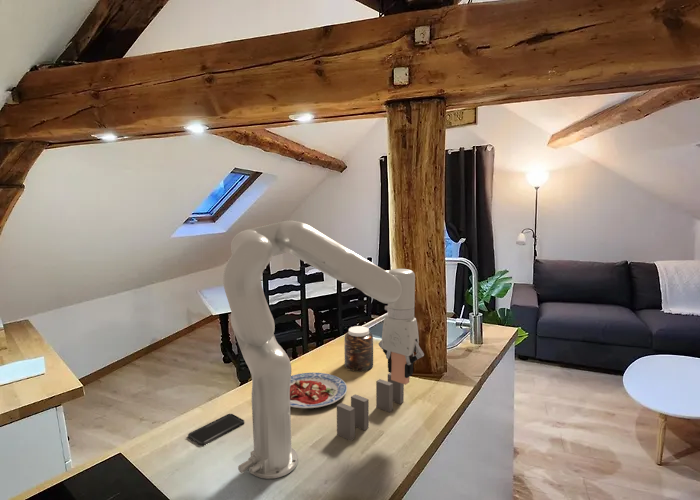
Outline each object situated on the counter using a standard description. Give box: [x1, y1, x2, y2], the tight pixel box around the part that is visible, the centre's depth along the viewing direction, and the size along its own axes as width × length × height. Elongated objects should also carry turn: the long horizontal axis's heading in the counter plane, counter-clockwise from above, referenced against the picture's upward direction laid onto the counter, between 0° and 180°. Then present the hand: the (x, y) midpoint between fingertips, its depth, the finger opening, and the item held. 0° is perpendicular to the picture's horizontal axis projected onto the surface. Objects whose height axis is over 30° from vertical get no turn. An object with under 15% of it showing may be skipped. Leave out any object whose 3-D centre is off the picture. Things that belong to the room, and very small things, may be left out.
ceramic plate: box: [290, 372, 348, 409], centre depth 147 cm, size 26×26×3 cm
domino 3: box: [375, 378, 394, 413], centre depth 136 cm, size 2×5×9 cm, turn 51°
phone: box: [187, 413, 245, 447], centre depth 126 cm, size 8×1×15 cm
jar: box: [343, 325, 374, 373], centre depth 169 cm, size 12×12×15 cm
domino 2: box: [350, 393, 370, 431], centre depth 126 cm, size 2×5×9 cm, turn 51°
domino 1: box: [336, 402, 356, 442], centre depth 121 cm, size 2×5×9 cm, turn 51°
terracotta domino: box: [391, 352, 410, 386], centre depth 123 cm, size 2×5×9 cm, turn 51°
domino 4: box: [387, 372, 405, 405], centre depth 141 cm, size 2×5×9 cm, turn 51°
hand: (400, 372), depth 123 cm, fingers closed on terracotta domino, 4 cm apart
